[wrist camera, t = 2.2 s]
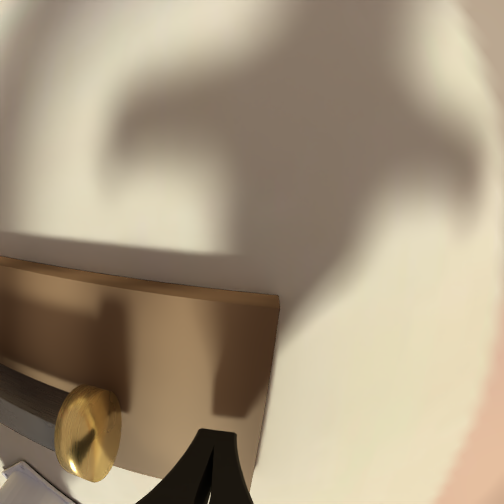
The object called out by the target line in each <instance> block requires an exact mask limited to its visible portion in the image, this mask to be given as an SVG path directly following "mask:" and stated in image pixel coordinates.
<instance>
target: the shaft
mask: <svg viewBox="0 0 504 504" xmlns="http://www.w3.org/2000/svg"><path fill="white" fill-rule="evenodd" d="M0 423H2V424H4V425H5V426H7V427H9V428H10V429H12V430H14V431H16V432H17V433H19V434H21V435H23V436H25V437H27V438H28V439H30V440H32V441H34V442H36V443H38V444H40V445H42V446H44V447H46V448H48V449H50V450H53V451H55V452H56V455H57V459H58V461H59V463H60V465H61V466H62V467H63V469H64V470H66V471H67V472H69V473H71V474H73V475H76V476H78V477H81V478H83V479H86V480H88V481H91V482H98V481H101V480H102V479H103V478H104V477H105V476H106V475H107V474H108V473H109V471H110V470H111V468H112V466H113V464H114V461H115V459H116V456H117V452H118V449H119V444H120V438H121V429H122V417H121V408H120V404H119V401H118V399H117V397H116V395H115V394H114V393H113V392H111V391H108V390H105V389H101V388H98V387H94V386H91V385H87V384H82V385H79V386H77V387H75V388H74V389H73V390H72V391H71V392H67V391H64V390H61V389H59V388H56V387H53V386H51V385H48V384H46V383H43V382H41V381H38V380H36V379H34V378H31V377H29V376H27V375H24V374H22V373H20V372H18V371H16V370H13V369H11V368H9V367H7V366H5V365H3V364H1V363H0Z"/></svg>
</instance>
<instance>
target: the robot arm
mask: <svg viewBox="0 0 504 504" xmlns="http://www.w3.org/2000/svg"><path fill="white" fill-rule="evenodd" d="M2 475H3V476H4V477H5V478H6V479H7V481H6V482H5V483H4V485H3V486H2V487H1V489H0V504H75V503H74V502H73V501H71V500H70V499H69V498H67V497H66V496H65V495H63V494H62V493H61V492H59V491H58V490H57V489H56V488H54V487H53V486H52V485H51V484H49V483H48V482H47V481H46V480H45V479H44V478H42V477H41V476H40V475H39V474H38V473H37V472H35V471H34V470H33V469H32V468H31V467H30V466H29V465H28V464H27V463H25V462H24V461H20V462H18V463H17V464H15V465H13V466H11V467H9V468H7V469H6V470H4V471H2ZM210 493H211V497H210V502H209V504H254V503H253V501H252V498H251V496H250V493H249V491H248V488H247V485H246V482H245V479H244V476H243V472H242V469H241V465H240V461H239V455H238V449H237V434H236V433H235V432H227V431H219V430H212V429H205V428H201V429H199V430H198V432H197V434H196V436H195V437H194V439H193V441H192V443H191V444H190V446H189V447H188V449H187V450H186V452H185V453H184V454H183V456H182V457H181V458H180V460H179V461H178V462H177V464H176V465H175V466H174V467H173V468H172V470H171V471H170V472H169V473H168V474H167V475H166V476H165V477H164V478H163V480H162V481H161V482H160V483H159V484H158V485H157V486H156V487H155V488H154V489H152V490H151V491H150V492H149V493H148V494H147V495H146V496H144V497H143V498H142V499H141V500H140V501H138V502H137V503H136V504H207V503H208V500H209V496H210Z"/></svg>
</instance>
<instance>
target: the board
mask: <svg viewBox="0 0 504 504" xmlns="http://www.w3.org/2000/svg"><path fill="white" fill-rule="evenodd" d="M279 311H280V305H279V296H278V295H268V294H258V293H248V292H239V291H229V290H221V289H212V288H203V287H195V286H187V285H179V284H171V283H163V282H156V281H148V280H141V279H134V278H127V277H120V276H114V275H107V274H100V273H94V272H88V271H81V270H75V269H69V268H63V267H57V266H52V265H46V264H40V263H35V262H29V261H24V260H18V259H13V258H8V257H3V256H0V363H1V364H3V365H5V366H7V367H9V368H11V369H13V370H16V371H18V372H20V373H22V374H24V375H27V376H29V377H31V378H34V379H36V380H38V381H41V382H43V383H46V384H48V385H51V386H53V387H56V388H59V389H61V390H64V391H67V392H71V391H72V390H73V389H74V388H75V387H77V386H79V385H82V384H87V385H91V386H94V387H98V388H101V389H105V390H108V391H111V392H113V393H114V394H115V395H116V397H117V399H118V401H119V404H120V408H121V417H122V429H121V438H120V444H119V449H118V452H117V456H116V459H115V461H114V464H113V466H116V467H119V468H123V469H126V470H129V471H133V472H136V473H140V474H144V475H148V476H152V477H156V478H160V479H163V478H164V477H165V476H166V475H167V474H168V473H169V472H170V471H171V470H172V468H173V467H174V466H175V465H176V464H177V462H178V461H179V460H180V458H181V457H182V456H183V454H184V453H185V452H186V450H187V449H188V447H189V446H190V444H191V443H192V441H193V439H194V437H195V436H196V434H197V432H198V430H199V429H201V428H205V429H212V430H219V431H227V432H235V433H236V434H237V449H238V455H239V461H240V465H241V469H242V472H243V476H244V479H245V482H246V485H247V488H248V491H249V492H250V487H251V482H252V477H253V471H254V466H255V461H256V455H257V450H258V444H259V439H260V433H261V427H262V421H263V416H264V410H265V404H266V397H267V391H268V385H269V379H270V372H271V366H272V359H273V353H274V346H275V339H276V332H277V325H278V318H279Z"/></svg>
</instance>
